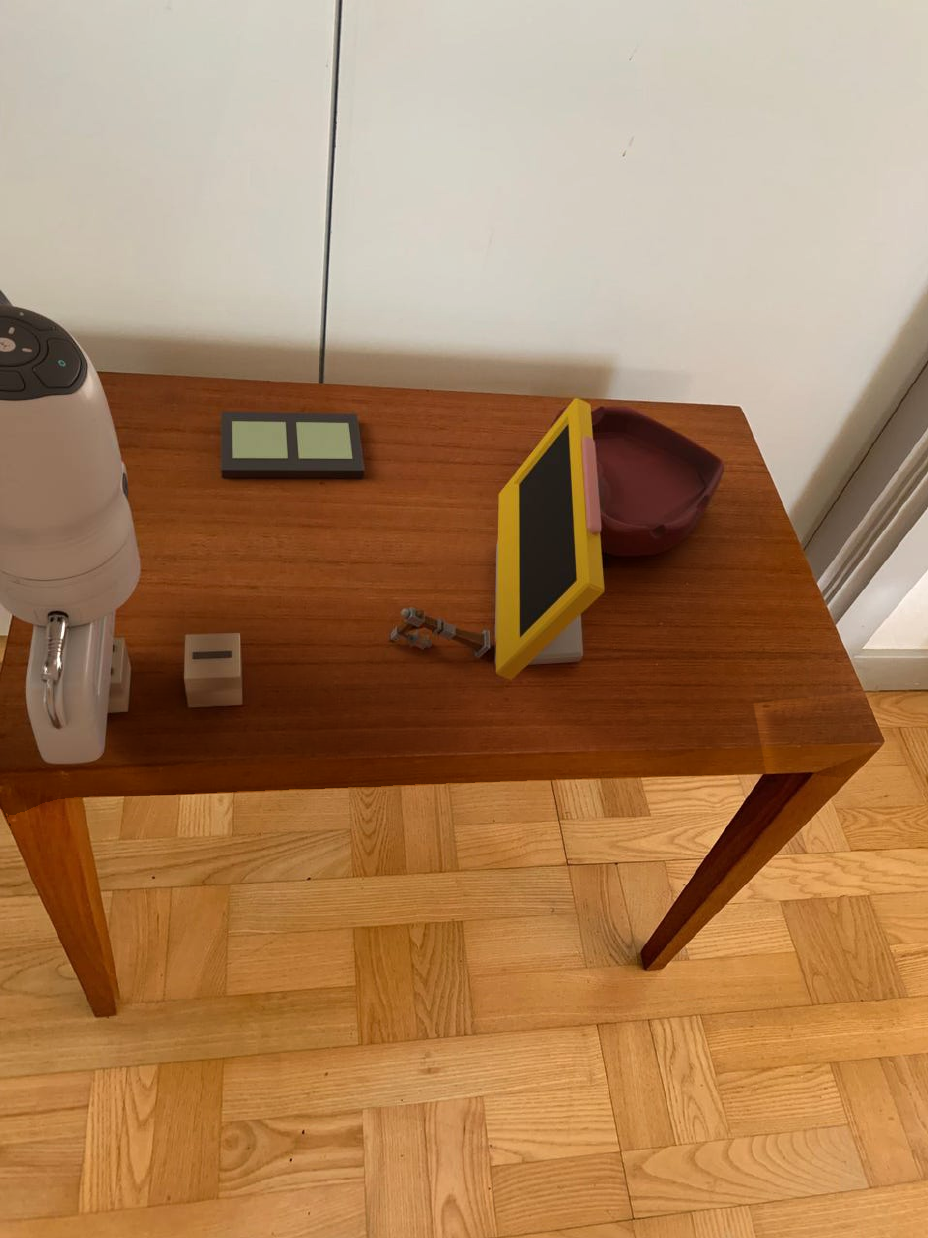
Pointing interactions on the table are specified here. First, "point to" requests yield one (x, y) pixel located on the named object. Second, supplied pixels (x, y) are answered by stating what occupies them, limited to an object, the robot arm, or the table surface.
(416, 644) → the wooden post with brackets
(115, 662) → the tile
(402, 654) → the table surface
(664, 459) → the ashtray
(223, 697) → the tile
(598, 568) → the toy computer monitor
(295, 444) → the dark grey flat block
